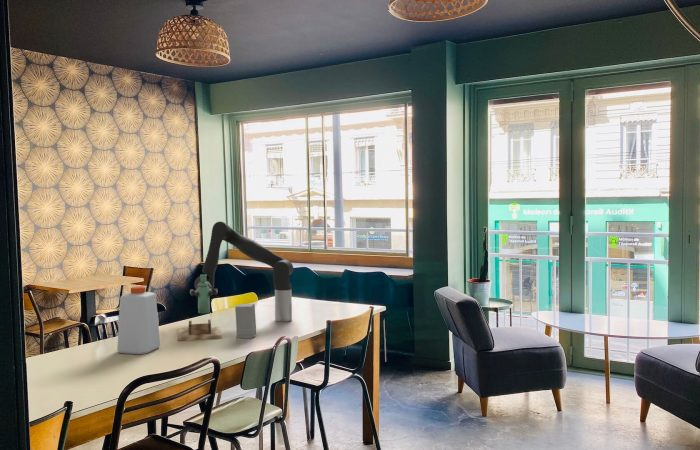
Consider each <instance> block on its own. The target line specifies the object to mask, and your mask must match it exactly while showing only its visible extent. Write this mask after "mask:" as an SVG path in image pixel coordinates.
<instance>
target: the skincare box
mask: <svg viewBox="0 0 700 450" xmlns="http://www.w3.org/2000/svg"><path fill="white" fill-rule="evenodd" d="M234 308H235V309H234V311H235V322H236V323H235V325H236V338H237V339H253V338H255V336H257V322H256V321H257V320H256V305H255V303H239V304H238V305H236V306H235V307H234Z"/></svg>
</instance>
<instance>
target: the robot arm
mask: <svg viewBox="0 0 700 450" xmlns="http://www.w3.org/2000/svg"><path fill="white" fill-rule="evenodd" d="M223 241H225V242H227V243H228V244H230V245H232V246H234V247H235V248H236V249H237V250H238V251H240V252H241V253H242V254H243V255H245V256H246V257H248V258H250V259H251V260H254V261H256V262H258V263H262V264H265V265H267V266H269V267H271V268H272V278H273V279H272V280H273V286H274V321H276V322H278V323H279V322H283V323H284V322H292V320H293V306H292V305H293V304H292V303H293V299H292V297H293V295H292V294H293V293H292V289H293V288H292V283H291V282H290V276H291V275H292V274H293V273H294V266H293V265H294V264H292V262H291V261H290V260H288V259H286V258H284V257H282V256H279V255H277V254H275V253H274V252H272V251H271V250H269V249H267V248H266V247H265V246H263V245H262V244H261V243H258V242H257V241H255V240H253V239H252V238H250V237H248V236H245V235H242V234H240V233H239V232H237V231H236V230H234V229H233V228H232V227H231V226H230V225H229V224H227V223H226V222H224V221H216V222H215V223H214V224H213V226H212V229H211V236H210V241H209V246H208V250H207V255H206V256H205V260H204V263H203V267H202V273H203V274H207V276H208V277H209V278H207V277H206V282H208V286H209V297H211V296H213V295H214V296H216V295H217V294H218V287H215V273H216V270H217V267H218V264H219V261H220V260H219V259H220V251H221V246H222V242H223ZM200 282H201V277H200V276H198V277H197V278H196V279H195V280H194V289H195V290H194V289H193V288H191V289H189V294H190V296H192V297H193V296H195V297H196V298H198V287H199V283H200ZM214 287H215V288H214Z"/></svg>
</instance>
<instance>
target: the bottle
mask: <svg viewBox="0 0 700 450" xmlns="http://www.w3.org/2000/svg"><path fill="white" fill-rule="evenodd" d="M207 276H208V275H207V274H206V273H203V274H200V275H199V277H201V282H200V283H199V287H198V297H197V309H198V311H197V312H198V314H204V315H205V314H208V313H210V311H211V310H210V308H211V307H210V296H209V286H208V282H206V278H207Z"/></svg>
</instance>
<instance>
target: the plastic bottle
mask: <svg viewBox="0 0 700 450" xmlns="http://www.w3.org/2000/svg"><path fill="white" fill-rule="evenodd" d="M118 314H119V315H118V329H117V330H118V333H117V349H116V351H117V352H118V353H119V354H128V355H129V354H130V355H145V354H149V353H150V352H153V351H155V350H157V349H159V348H160V346H161V340H160V328H159V316H158V306H157V297H156V293H155V292H151V291H150V292H149V291H146V287H145V286H139V285H138V286H133V287H130V292H128V293H125V294H122V295H121V296H120V297H119V312H118Z"/></svg>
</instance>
